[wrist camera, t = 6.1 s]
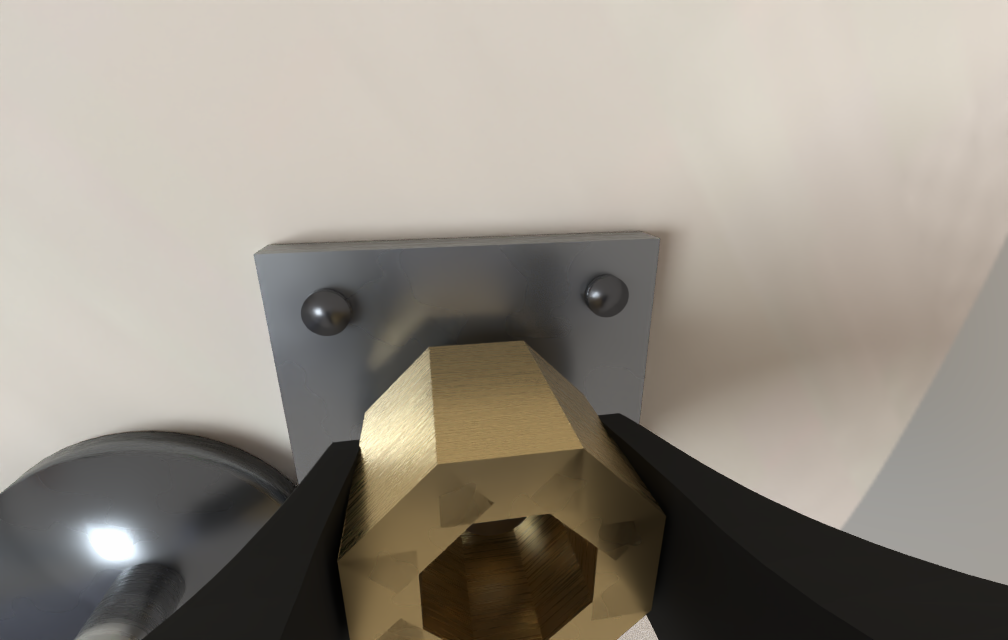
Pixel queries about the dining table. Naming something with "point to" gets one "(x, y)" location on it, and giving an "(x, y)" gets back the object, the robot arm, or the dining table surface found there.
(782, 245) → the dining table surface
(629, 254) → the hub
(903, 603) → the robot arm
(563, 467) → the brass collar
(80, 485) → the stand
